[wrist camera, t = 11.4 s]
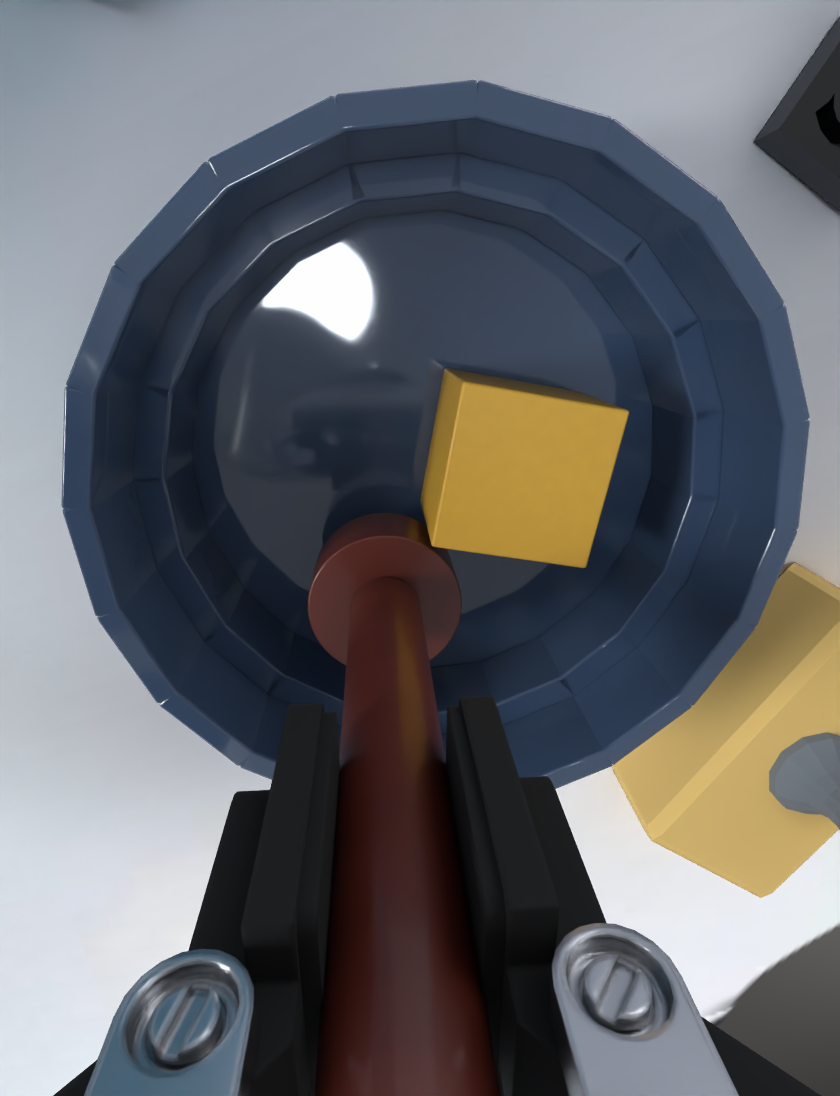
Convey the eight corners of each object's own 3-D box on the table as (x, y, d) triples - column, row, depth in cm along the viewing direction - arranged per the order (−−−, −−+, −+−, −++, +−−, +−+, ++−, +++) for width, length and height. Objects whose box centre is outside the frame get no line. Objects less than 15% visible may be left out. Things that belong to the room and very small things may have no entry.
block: (419, 502, 19) (430, 547, 16) (443, 367, 18) (462, 381, 14) (546, 521, 20) (586, 569, 16) (579, 391, 18) (631, 410, 15)
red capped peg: (290, 604, 18) (89, 1316, 5) (355, 487, 17) (302, 1013, 4) (410, 660, 19) (489, 1386, 6) (478, 552, 18) (748, 1151, 5)
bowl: (74, 560, 20) (-43, 656, 14) (307, 20, 16) (271, -144, 10) (505, 753, 24) (546, 890, 18) (789, 360, 19) (959, 378, 14)
